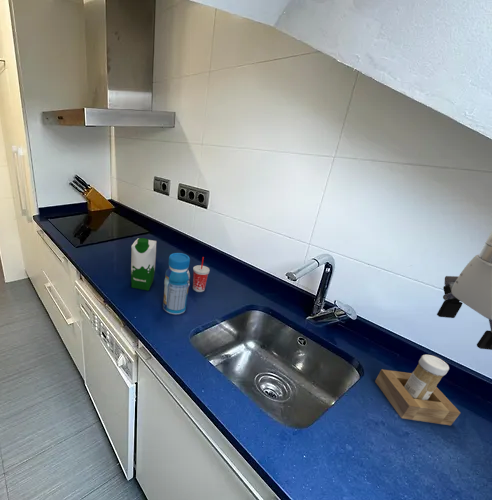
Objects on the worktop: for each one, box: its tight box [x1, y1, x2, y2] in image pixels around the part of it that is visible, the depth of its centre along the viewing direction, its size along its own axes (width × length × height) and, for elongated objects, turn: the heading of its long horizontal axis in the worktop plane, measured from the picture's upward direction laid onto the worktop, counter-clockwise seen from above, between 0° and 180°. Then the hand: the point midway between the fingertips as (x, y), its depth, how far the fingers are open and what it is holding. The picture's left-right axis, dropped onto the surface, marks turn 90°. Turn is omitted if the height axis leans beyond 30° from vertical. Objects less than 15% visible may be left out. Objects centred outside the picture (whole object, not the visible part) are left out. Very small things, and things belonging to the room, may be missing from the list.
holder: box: [374, 368, 461, 426], centre depth 68 cm, size 10×10×4 cm
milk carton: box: [130, 237, 157, 292], centre depth 109 cm, size 9×9×20 cm
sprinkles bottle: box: [404, 354, 450, 400], centre depth 66 cm, size 5×5×14 cm
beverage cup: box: [192, 256, 211, 293], centre depth 108 cm, size 6×6×14 cm
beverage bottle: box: [162, 252, 191, 315], centre depth 95 cm, size 8×8×20 cm
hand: (464, 331), depth 59 cm, fingers open, 9 cm apart
